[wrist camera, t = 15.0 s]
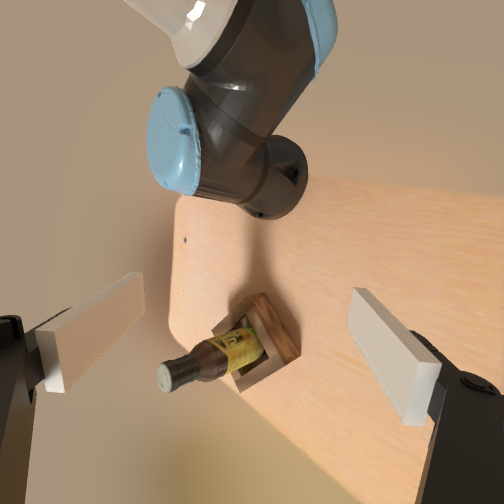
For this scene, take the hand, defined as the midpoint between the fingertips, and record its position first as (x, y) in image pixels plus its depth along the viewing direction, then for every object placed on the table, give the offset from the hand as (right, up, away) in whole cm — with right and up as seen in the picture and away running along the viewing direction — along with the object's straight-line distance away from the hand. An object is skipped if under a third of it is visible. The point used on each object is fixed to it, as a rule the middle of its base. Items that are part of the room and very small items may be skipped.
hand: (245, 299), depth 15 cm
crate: (+2, -14, +34) cm, 37 cm away
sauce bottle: (+2, -14, +33) cm, 36 cm away
